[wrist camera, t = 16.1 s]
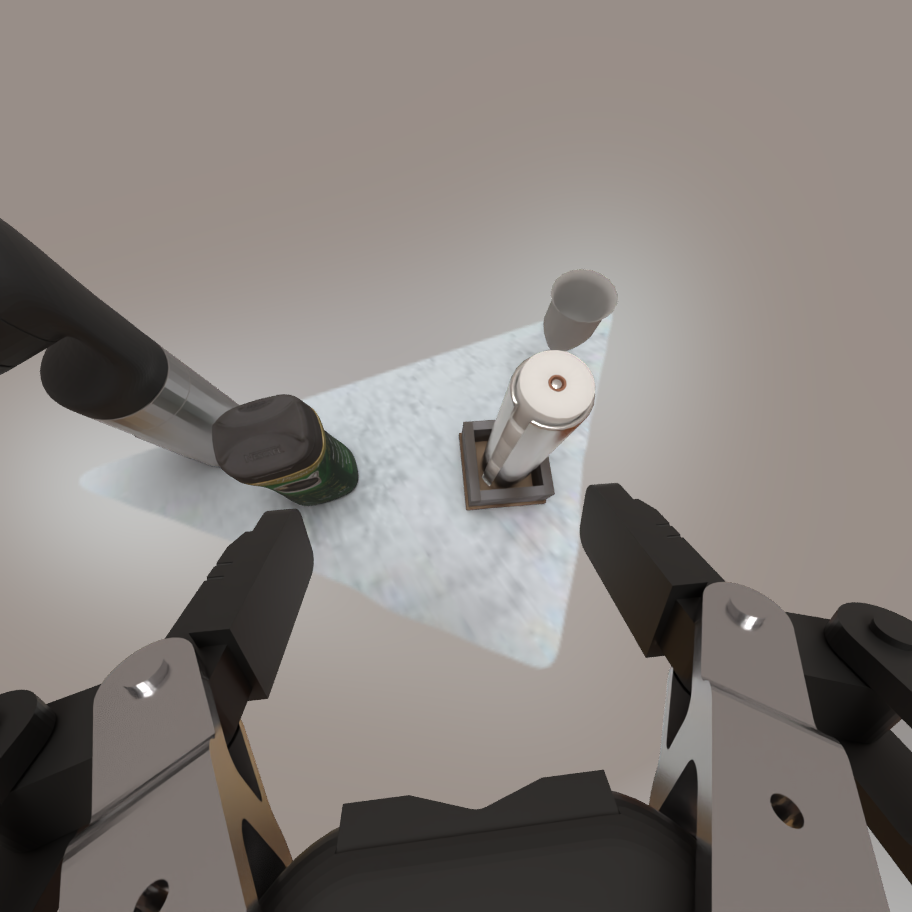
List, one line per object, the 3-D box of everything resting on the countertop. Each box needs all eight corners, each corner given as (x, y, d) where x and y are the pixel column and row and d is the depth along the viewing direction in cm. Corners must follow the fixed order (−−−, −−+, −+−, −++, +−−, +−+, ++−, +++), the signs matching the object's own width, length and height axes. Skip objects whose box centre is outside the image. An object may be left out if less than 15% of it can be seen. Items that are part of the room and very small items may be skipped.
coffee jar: (351, 440, 51) (301, 376, 33) (364, 491, 49) (319, 453, 31) (283, 460, 50) (195, 405, 32) (295, 513, 48) (206, 486, 30)
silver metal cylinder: (475, 450, 50) (504, 350, 26) (519, 443, 51) (587, 339, 27) (483, 494, 48) (523, 431, 24) (529, 487, 49) (612, 418, 25)
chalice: (552, 353, 56) (601, 262, 39) (570, 390, 54) (629, 312, 37) (510, 366, 55) (540, 278, 38) (526, 403, 54) (566, 330, 36)
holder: (466, 510, 49) (469, 503, 43) (459, 435, 52) (461, 420, 46) (544, 503, 49) (557, 496, 44) (532, 430, 52) (543, 414, 47)
